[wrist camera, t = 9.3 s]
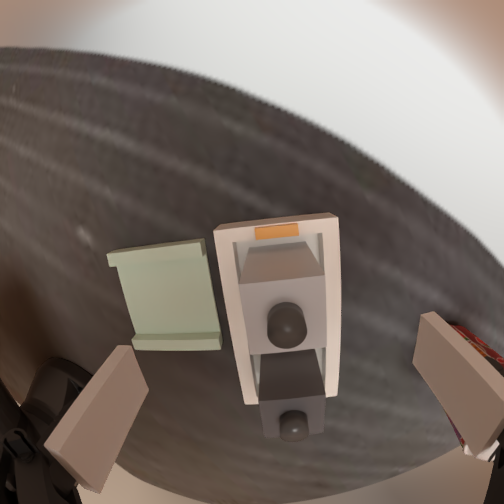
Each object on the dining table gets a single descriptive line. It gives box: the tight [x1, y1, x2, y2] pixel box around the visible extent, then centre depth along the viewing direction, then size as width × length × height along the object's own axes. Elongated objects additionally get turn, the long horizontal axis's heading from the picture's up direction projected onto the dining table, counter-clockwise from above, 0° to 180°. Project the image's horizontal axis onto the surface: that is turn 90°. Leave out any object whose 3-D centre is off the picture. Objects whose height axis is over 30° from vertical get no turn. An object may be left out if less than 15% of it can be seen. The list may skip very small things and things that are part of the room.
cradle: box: [107, 238, 223, 351], centre depth 24 cm, size 9×10×2 cm
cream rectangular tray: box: [213, 212, 341, 442], centre depth 19 cm, size 9×17×10 cm, turn 7°
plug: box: [239, 241, 327, 355], centre depth 18 cm, size 4×4×10 cm
